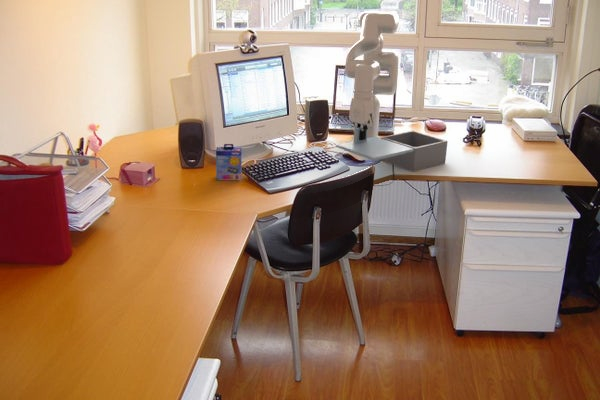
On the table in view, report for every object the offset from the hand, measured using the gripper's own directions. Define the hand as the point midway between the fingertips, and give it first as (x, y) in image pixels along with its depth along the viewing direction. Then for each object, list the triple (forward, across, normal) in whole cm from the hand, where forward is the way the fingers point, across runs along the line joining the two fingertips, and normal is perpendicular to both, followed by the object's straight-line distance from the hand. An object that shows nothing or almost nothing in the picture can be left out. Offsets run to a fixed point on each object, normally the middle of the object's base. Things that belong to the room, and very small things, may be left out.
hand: (360, 138), depth 274 cm
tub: (+12, +7, +25) cm, 29 cm away
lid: (+3, +8, 0) cm, 9 cm away
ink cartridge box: (+13, -19, -52) cm, 57 cm away
